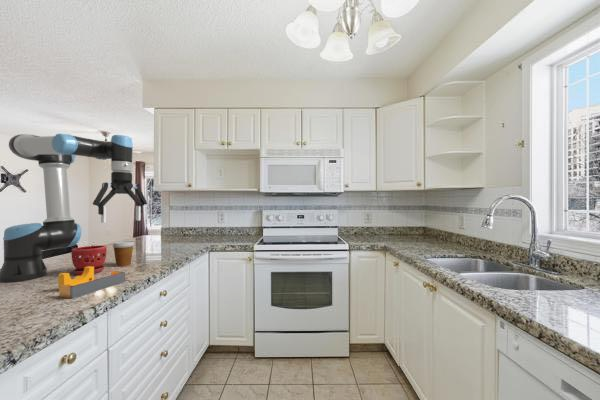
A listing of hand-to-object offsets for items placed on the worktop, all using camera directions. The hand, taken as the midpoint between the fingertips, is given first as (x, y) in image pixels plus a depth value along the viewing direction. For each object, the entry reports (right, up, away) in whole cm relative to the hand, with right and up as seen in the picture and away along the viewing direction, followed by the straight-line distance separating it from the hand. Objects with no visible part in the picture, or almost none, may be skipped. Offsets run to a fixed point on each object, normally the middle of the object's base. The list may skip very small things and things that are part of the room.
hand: (121, 221), depth 116 cm
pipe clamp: (-13, -26, -8) cm, 30 cm away
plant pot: (-23, -25, +12) cm, 36 cm away
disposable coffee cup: (-16, -25, +25) cm, 39 cm away
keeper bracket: (-2, -25, -12) cm, 28 cm away
